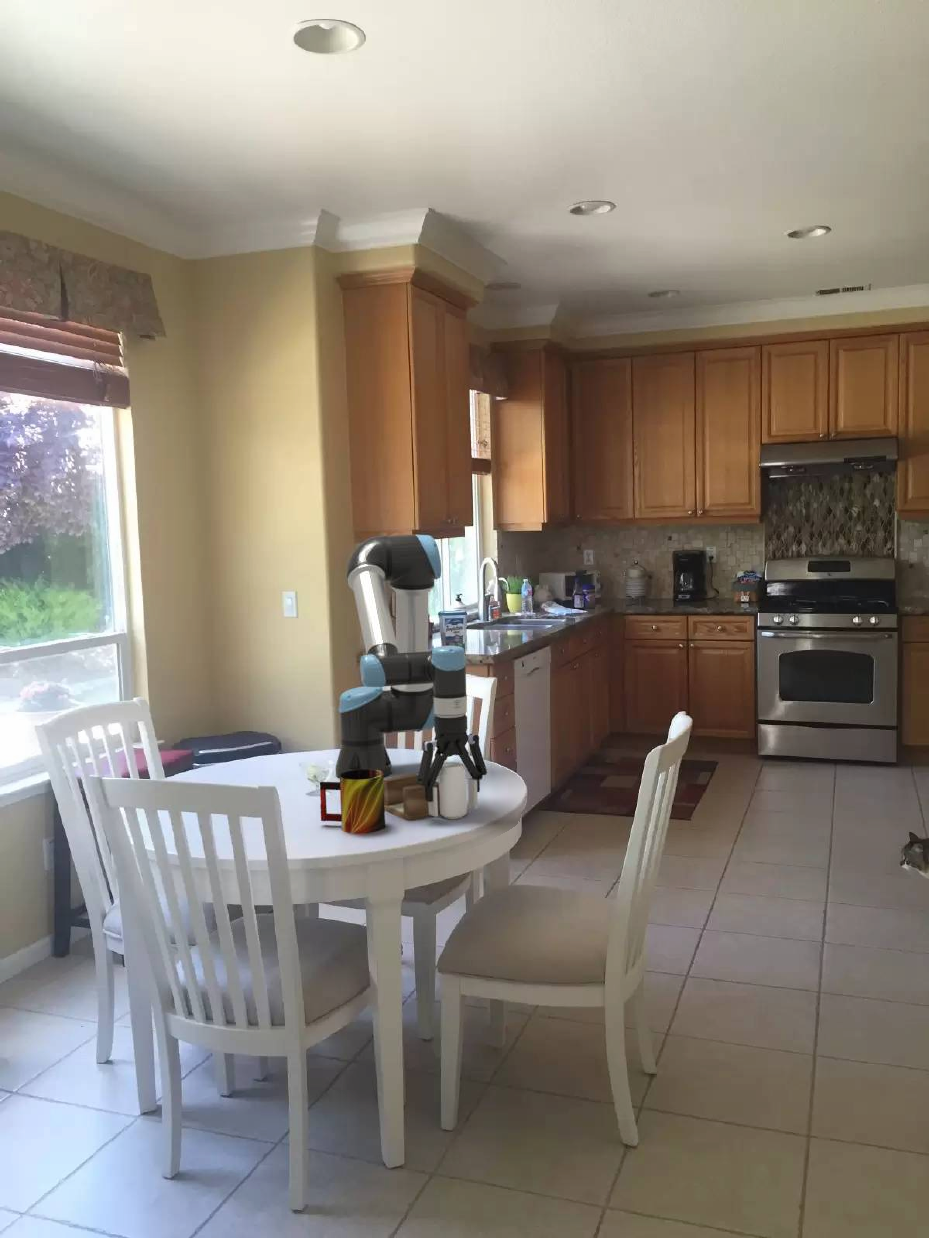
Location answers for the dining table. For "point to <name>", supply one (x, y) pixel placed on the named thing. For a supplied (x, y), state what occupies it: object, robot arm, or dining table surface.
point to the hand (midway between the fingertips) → (453, 810)
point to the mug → (357, 801)
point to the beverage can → (452, 790)
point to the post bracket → (407, 797)
